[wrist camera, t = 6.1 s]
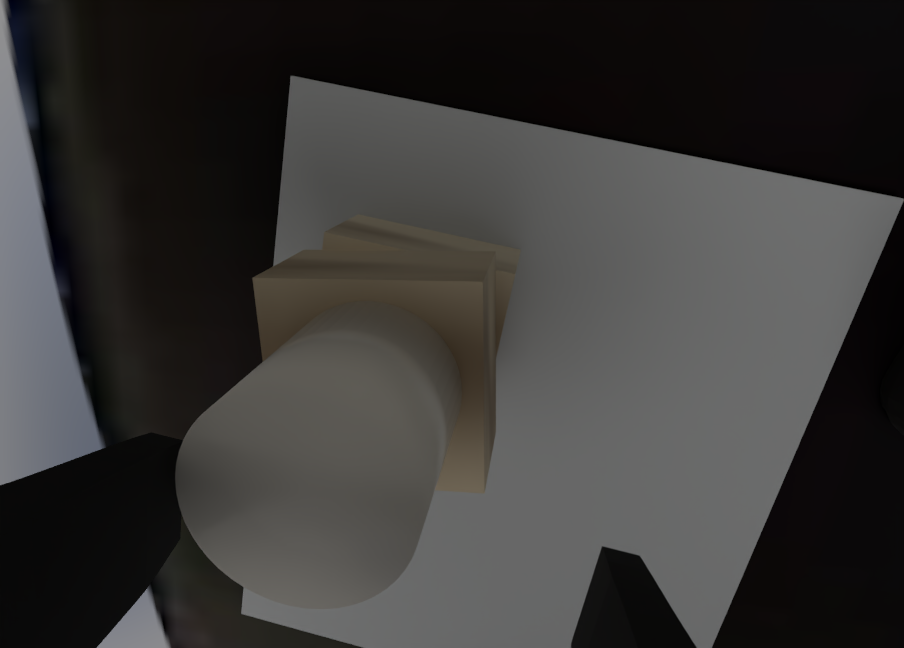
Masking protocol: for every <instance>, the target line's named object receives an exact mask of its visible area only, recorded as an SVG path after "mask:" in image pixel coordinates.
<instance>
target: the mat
mask: <svg viewBox="0 0 904 648" xmlns="http://www.w3.org/2000/svg"><path fill="white" fill-rule="evenodd" d="M903 201H904V199H902V198H898V197H894V196H889V195H884V194H879V193H874V192H869V191H864V190H859V189H854V188H849V187H844V186H839V185H834V184H829V183H824V182H819V181H814V180H809V179H804V178H799V177H794V176H789V175H784V174H779V173H774V172H769V171H764V170H759V169H754V168H749V167H744V166H739V165H734V164H730V163H725V162H720V161H715V160H710V159H705V158H700V157H695V156H690V155H685V154H680V153H675V152H670V151H665V150H660V149H655V148H650V147H645V146H640V145H635V144H630V143H625V142H620V141H615V140H610V139H605V138H600V137H595V136H590V135H585V134H580V133H575V132H570V131H565V130H560V129H555V128H550V127H545V126H540V125H535V124H530V123H525V122H520V121H515V120H510V119H505V118H500V117H495V116H491V115H486V114H481V113H476V112H471V111H466V110H461V109H456V108H451V107H446V106H441V105H436V104H431V103H426V102H421V101H416V100H411V99H406V98H401V97H396V96H391V95H386V94H381V93H376V92H371V91H366V90H361V89H356V88H351V87H346V86H341V85H336V84H331V83H326V82H321V81H316V80H311V79H306V78H301V77H296V76H291V79H290V90H289V101H288V112H287V123H286V134H285V144H284V155H283V166H282V177H281V188H280V199H279V210H278V220H277V231H276V242H275V253H274V264H273V266H275V265H277V264H279V263H281V262H282V261H284V260H286V259H288V258H290V257H291V256H293V255H295V254H297V253H299V252H301V251H302V250H322V246H323V237H324V232H325V231H327V230H329V229H331V228H333V227H335V226H337V225H339V224H340V223H342V222H344V221H346V220H348V219H350V218H352V217H354V216H356V215H358V214H359V215H364V216H368V217H373V218H378V219H382V220H387V221H391V222H396V223H400V224H405V225H410V226H414V227H419V228H423V229H428V230H433V231H437V232H442V233H446V234H451V235H456V236H460V237H465V238H469V239H474V240H479V241H483V242H488V243H492V244H497V245H502V246H506V247H511V248H515V249H520V250H521V252H520V256H519V261H518V265H517V269H516V274H515V278H514V282H513V287H512V291H511V296H510V300H509V304H508V309H507V313H506V317H505V322H504V326H503V331H502V335H501V339H500V344H499V348H498V352H497V357H496V434H495V440H494V445H493V451H492V456H491V461H490V467H489V472H488V478H487V483H486V488H485V494H482V493H467V492H453V491H438V490H435V491H434V495H433V498H432V501H431V504H430V507H429V510H428V513H427V517H426V520H425V523H424V526H423V529H422V532H421V535H420V539H419V542H418V545H417V548H416V550H415V553H414V555H413V557H412V560H411V561H410V563H409V564H408V566H407V568H406V569H405V571H404V572H403V573H402V574H401V575H400V577H399V578H398V579H397V580H396V581H395V582H394V583H393V584H392V585H390V586H389V587H388V588H387V589H386V590H384V591H383V592H381V593H379V594H378V595H376V596H374V597H372V598H370V599H368V600H366V601H363V602H361V603H358V604H354V605H351V606H347V607H341V608H335V609H308V608H300V607H294V606H289V605H285V604H282V603H278V602H275V601H272V600H269V599H267V598H265V597H262V596H260V595H258V594H256V593H254V592H252V591H250V590H248V589H246V588H244V590H243V601H242V612H241V614H244V615H248V616H251V617H255V618H259V619H262V620H266V621H270V622H273V623H277V624H280V625H284V626H288V627H291V628H295V629H298V630H302V631H306V632H309V633H313V634H316V635H320V636H324V637H327V638H331V639H335V640H338V641H342V642H345V643H349V644H353V645H356V646H360V647H363V648H571V642H572V639H573V635H574V632H575V629H576V626H577V623H578V620H579V617H580V613H581V610H582V607H583V604H584V601H585V598H586V595H587V592H588V588H589V585H590V582H591V579H592V576H593V573H594V570H595V566H596V563H597V560H598V557H599V554H600V551H601V548H602V546H604V547H608V548H612V549H616V550H620V551H624V552H628V553H632V554H636V555H640V557H641V558H642V560H643V561H644V563H645V565H646V566H647V568H648V570H649V571H650V573H651V575H652V576H653V578H654V579H655V581H656V583H657V584H658V586H659V588H660V589H661V591H662V593H663V594H664V596H665V598H666V599H667V601H668V603H669V604H670V606H671V607H672V609H673V611H674V612H675V614H676V616H677V617H678V619H679V620H680V622H681V624H682V625H683V627H684V628H685V630H686V632H687V633H688V635H689V636H690V638H691V639H692V641H693V643H694V644H695V646H696V647H697V648H712V646H713V643H714V641H715V639H716V636H717V634H718V632H719V629H720V627H721V625H722V622H723V620H724V618H725V615H726V613H727V611H728V608H729V606H730V604H731V601H732V599H733V597H734V594H735V592H736V590H737V587H738V585H739V583H740V580H741V578H742V576H743V573H744V571H745V569H746V566H747V564H748V562H749V559H750V557H751V555H752V552H753V550H754V548H755V545H756V543H757V541H758V538H759V536H760V534H761V531H762V529H763V527H764V524H765V522H766V520H767V518H768V515H769V513H770V511H771V508H772V506H773V504H774V501H775V499H776V497H777V494H778V492H779V490H780V487H781V485H782V483H783V480H784V478H785V476H786V473H787V471H788V469H789V466H790V464H791V462H792V459H793V457H794V455H795V452H796V450H797V448H798V445H799V443H800V441H801V438H802V436H803V434H804V431H805V429H806V427H807V424H808V422H809V420H810V417H811V415H812V413H813V410H814V408H815V406H816V403H817V401H818V399H819V396H820V394H821V392H822V389H823V387H824V385H825V382H826V380H827V378H828V375H829V373H830V371H831V368H832V366H833V364H834V361H835V359H836V357H837V354H838V352H839V350H840V348H841V345H842V343H843V341H844V338H845V336H846V334H847V331H848V329H849V327H850V324H851V322H852V320H853V317H854V315H855V313H856V310H857V308H858V306H859V303H860V301H861V299H862V296H863V294H864V292H865V289H866V287H867V285H868V282H869V280H870V278H871V275H872V273H873V271H874V268H875V266H876V264H877V261H878V259H879V257H880V254H881V252H882V250H883V247H884V245H885V243H886V240H887V238H888V236H889V233H890V231H891V229H892V226H893V224H894V222H895V219H896V217H897V215H898V212H899V210H900V208H901V205H902V203H903Z"/></svg>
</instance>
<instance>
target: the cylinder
mask: <svg viewBox="0 0 904 648" xmlns="http://www.w3.org/2000/svg"><path fill="white" fill-rule="evenodd" d="M461 401H462V383H461V378H460V373H459V369H458V366H457V363H456V361H455V359H454V357H453V355H452V353H451V350H450V349H449V347H448V346H447V344H446V343H445V341H444V340H443V339H442V338H441V337H440V335H439V334H438V333H437V332H436V331H435V330H434V329H433V328H432V327H431V326H430V325H429V324H427V323H426V322H425V321H423V320H422V319H421V318H419V317H418V316H416V315H414V314H412V313H411V312H409V311H407V310H405V309H402V308H400V307H397V306H394V305H391V304H387V303H383V302H375V301H355V302H348V303H344V304H341V305H337V306H334V307H332V308H330V309H328V310H325V311H324V312H322V313H321V314H319V315H317V316H316V317H315V318H314V319H312V320H311V321H310V322H309V323H308V324H307V325H305V326H304V327H303V328H302V329H301V330H300V331H298V332H297V333H296V334H295V335H294V336H293V337H291V338H290V339H289V340H288V341H287V342H286V343H284V344H283V345H282V346H281V347H280V348H279V349H277V350H276V351H275V352H274V353H273V354H272V355H270V356H269V357H268V358H267V359H266V360H265V361H263V362H262V363H261V364H260V365H259V366H258V367H256V368H255V369H254V370H253V371H252V372H251V373H249V374H248V375H247V376H246V377H245V378H244V379H242V380H241V381H240V382H239V383H238V384H237V385H235V386H234V387H233V388H232V389H231V390H230V391H228V392H227V393H226V394H225V395H224V396H223V397H221V398H220V399H219V400H218V401H217V402H216V403H214V404H213V405H212V406H211V407H210V408H209V409H207V410H206V411H205V412H204V413H203V414H202V415H200V417H199V418H198V419H197V420H196V421H195V422H194V424H193V425H192V426H191V427H190V429H189V431H188V432H187V434H186V436H185V438H184V440H183V442H182V445H181V447H180V450H179V453H178V458H177V462H176V473H175V483H176V494H177V498H178V503H179V507H180V510H181V513H182V516H183V519H184V521H185V523H186V525H187V527H188V529H189V531H190V533H191V535H192V536H193V538H194V539H195V541H196V543H197V544H198V546H199V547H200V548H201V549H202V551H203V552H204V553H205V554H206V556H207V557H208V558H209V559H210V560H211V561H212V562H213V563H214V564H215V565H216V566H217V567H218V568H219V569H220V570H221V571H222V572H224V573H225V574H226V575H227V576H229V577H230V578H231V579H232V580H234V581H235V582H237V583H238V584H240V585H241V586H243V587H244V588H246V589H248V590H250V591H252V592H254V593H256V594H258V595H260V596H262V597H265V598H267V599H269V600H272V601H275V602H278V603H282V604H285V605H289V606H294V607H300V608H308V609H335V608H341V607H347V606H351V605H354V604H358V603H361V602H363V601H366V600H368V599H370V598H372V597H374V596H376V595H378V594H379V593H381V592H383V591H384V590H386V589H387V588H388V587H389V586H390V585H392V584H393V583H394V582H395V581H396V580H397V579H398V578H399V577H400V575H401V574H402V573H403V572H404V571H405V569H406V568H407V566H408V564H409V563H410V561H411V560H412V557H413V555H414V553H415V550H416V548H417V545H418V542H419V539H420V535H421V532H422V529H423V526H424V523H425V520H426V517H427V513H428V510H429V507H430V504H431V501H432V498H433V495H434V491H435V488H436V485H437V482H438V479H439V476H440V472H441V469H442V466H443V463H444V460H445V457H446V454H447V450H448V447H449V444H450V441H451V438H452V435H453V431H454V428H455V425H456V422H457V419H458V416H459V412H460V408H461Z"/></svg>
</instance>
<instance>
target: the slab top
mask: <svg viewBox="0 0 904 648" xmlns="http://www.w3.org/2000/svg"><path fill="white" fill-rule="evenodd" d="M253 286H254V294H255V302H256V310H257V318H258V326H259V334H260V342H261V350H262V358H263V361H265V360H266V359H267V358H268V357H269V356H270V355H272V354H273V353H274V352H275V351H276V350H277V349H279V348H280V347H281V346H282V345H283V344H284V343H286V342H287V341H288V340H289V339H290V338H291V337H293V336H294V335H295V334H296V333H297V332H298V331H300V330H301V329H302V328H303V327H304V326H305V325H307V324H308V323H309V322H310V321H311V320H312V319H314V318H315V317H316V316H317V315H319V314H321V313H322V312H324V311H325V310H328V309H330V308H332V307H334V306H337V305H341V304H344V303H348V302H355V301H375V302H383V303H387V304H391V305H394V306H397V307H400V308H402V309H405V310H407V311H409V312H411V313H412V314H414V315H416V316H418V317H419V318H421V319H422V320H423V321H425V322H426V323H427V324H429V325H430V326H431V327H432V328H433V329H434V330H435V331H436V332H437V333H438V334H439V335H440V337H441V338H442V339H443V340H444V341H445V343H446V344H447V346H448V347H449V349H450V350H451V353H452V355H453V357H454V359H455V361H456V363H457V366H458V369H459V373H460V378H461V383H462V401H461V408H460V412H459V416H458V419H457V422H456V425H455V428H454V431H453V435H452V438H451V441H450V444H449V447H448V450H447V454H446V457H445V460H444V463H443V466H442V469H441V472H440V476H439V479H438V482H437V485H436V488H435V490H438V491H453V492H467V493H482V494H485V488H486V483H487V478H488V472H489V467H490V461H491V456H492V451H493V445H494V440H495V434H496V251H403V250H302V251H301V252H299V253H297V254H295V255H293V256H291V257H290V258H288V259H286V260H284V261H282V262H281V263H279V264H277V265H275V266H273V267H271V268H270V269H268V270H266V271H264V272H262V273H261V274H259V275H257V276H255V277H253Z"/></svg>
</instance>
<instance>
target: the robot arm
mask: <svg viewBox="0 0 904 648" xmlns="http://www.w3.org/2000/svg"><path fill="white" fill-rule="evenodd" d="M182 442H183V440H179V439H175V438H171V437H167V436H163V435H159V434H155V433H148V434H145V435H141V436H138V437H135V438H132V439H129V440H126V441H123V442H120V443H117V444H114V445H112V446H109V447H106V448H103V449H101V450H98V451H95V452H92V453H90V454H88V455H84V456H82V457H79V458H76V459H74V460H71V461H68V462H65V463H63V464H60V465H57V466H54V467H52V468H49V469H46V470H44V471H41V472H38V473H35V474H33V475H30V476H27V477H24V478H22V479H19V480H16V481H13V482H10V483H6V484H4V485H0V648H97V646H98V645H99V644H100V643H101V642H102V641H103V639H104V638H105V637H106V636H107V635H108V634H109V633H110V632H111V630H112V629H113V628H114V627H115V626H116V625H117V623H118V622H119V621H120V620H121V619H122V617H123V616H124V615H125V614H126V613H127V611H128V610H129V609H130V608H131V607H132V606H133V605H134V604H135V602H136V601H137V600H138V599H139V598H140V596H141V595H142V594H143V593H144V592H145V590H146V589H147V588H148V586H149V585H150V583H151V582H152V580H153V579H154V577H155V576H156V575H157V573H158V572H159V570H160V569H161V567H162V566H163V564H164V563H165V561H166V560H167V558H168V557H169V555H170V553H171V552H172V550H173V549H174V547H175V546H176V544H177V543H178V541H179V540H180V531H181V510H180V507H179V503H178V498H177V494H176V483H175V473H176V462H177V458H178V453H179V450H180V447H181V445H182ZM571 648H697V647H696V646H695V644H694V643H693V641H692V639H691V638H690V636H689V635H688V633H687V632H686V630H685V628H684V627H683V625H682V624H681V622H680V620H679V619H678V617H677V616H676V614H675V612H674V611H673V609H672V607H671V606H670V604H669V603H668V601H667V599H666V598H665V596H664V594H663V593H662V591H661V589H660V588H659V586H658V584H657V583H656V581H655V579H654V578H653V576H652V575H651V573H650V571H649V570H648V568H647V566H646V565H645V563H644V561H643V560H642V558H641V557H640V555H636V554H632V553H628V552H624V551H620V550H616V549H612V548H608V547H604V546H602V548H601V551H600V554H599V557H598V560H597V563H596V566H595V570H594V573H593V576H592V579H591V582H590V585H589V588H588V592H587V595H586V598H585V601H584V604H583V607H582V610H581V613H580V617H579V620H578V623H577V626H576V629H575V632H574V635H573V639H572V642H571Z"/></svg>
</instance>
